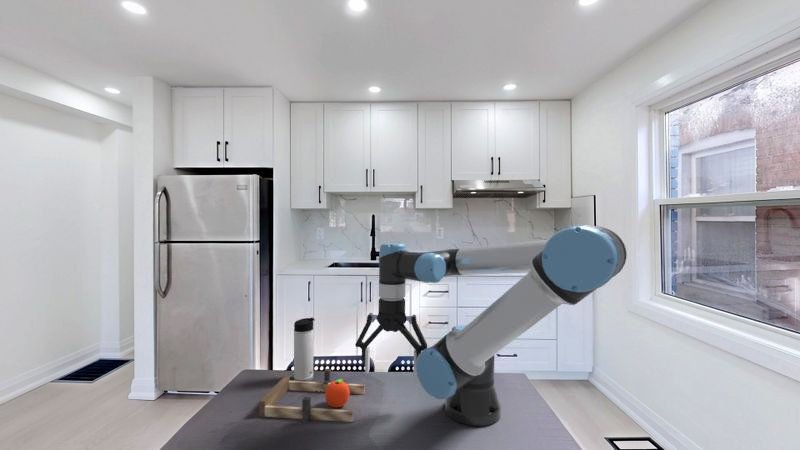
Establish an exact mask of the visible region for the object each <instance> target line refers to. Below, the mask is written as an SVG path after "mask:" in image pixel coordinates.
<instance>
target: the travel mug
mask: <svg viewBox="0 0 800 450" xmlns="http://www.w3.org/2000/svg"><path fill="white" fill-rule="evenodd" d="M314 321H315V318H314V317H307V318H300V319H297V320H295V321H294V323H293V324H294V325H293V326H294V328H293V331H294V332H293V381H307V382H312V380H313V379H314Z"/></svg>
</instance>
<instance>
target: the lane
mask: <svg viewBox="0 0 800 450" xmlns="http://www.w3.org/2000/svg"><path fill="white" fill-rule="evenodd" d="M323 375H324V378H323V379H324V381H323V382H322V381H309V382H307V381H294V380H291V378H290V377H291V376H290V375H284V376H283V377H282V378H281V379H280V380H279V381H278V382H277V383H276V384H275V385H274V386H273V387H272V388H271V389H270V390H269V391H268V392H267V393H266V394H265V395H264V396H263V397H262V398H261V399H260V400H259V410H258V411H259V415H258V416H259V417H268V418H269V417H270V418H285V419H286V418H287V419H296V420H297V419H300V420H301V421H302V424H309V422H310V421H311V420H315V421H316V420H317V421H331V422H345V423H346V422H347V423H353V421H354V410H353V409H352V410H351V409H339V408H338V409H336V408H335V409H334V408H321V407H319V408H318V407H312V405H311V396H304V397H303V399H302V401H301V402H302V403H301V405H302V407H301V406H287V405H286V406H285V405H277V403H278V402H279V401H280V400H281V399H282V398H283V397H284V395H286V393H287V392H288V391H298V392H300V391H301V392H315V391H318V392H319V393H325V392H326V389H327V387H328V386H329V384H330V383H332V369H331V368H325V370H324V374H323ZM346 384H347V385H348V388H349V391H350V394H352V393H355V394H356V395H365V391H366V390H365V389H366V385H365V384H364V383H359V384H358V383H346ZM320 391H321V392H320ZM355 394H354V395H355Z"/></svg>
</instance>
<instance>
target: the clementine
mask: <svg viewBox="0 0 800 450" xmlns="http://www.w3.org/2000/svg"><path fill="white" fill-rule="evenodd" d="M347 384H348V383H346V382H345V379H342V378H340V379H337V380H334V381H331V383H330V384H329V386H328V387H327V389H326V392H324V398H325V401H326V403H327V404H328V406H330V407H333V408H335V409H336V408H341V407H343V406H345V404H347V402H348V400H349V399H350V394H351V393H350V391H349V388H348V385H347Z"/></svg>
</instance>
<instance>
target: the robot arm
mask: <svg viewBox="0 0 800 450" xmlns="http://www.w3.org/2000/svg"><path fill="white" fill-rule="evenodd" d="M627 253H628V252H627V248H626V246H625V243H624V241H623V240H622V238H621V237H620V236H619V234H617V233H616V232H615V231H612V230H611V229H609V228H606V227H604V226H598V225H587V224H585V225H584V224H578V225H571V226H568V227H565V228H564V229H560V230H559V231H557V232H556V233H554V234H553V235H552V236H551V237H550V238H549V239H543V240H536V241H524V242H523V241H522V242H513V243H512V242H511V243H503V244H493V245H483V246H482V245H481V246H473V247H465V248H464V247H463V248H455V249H454V248H450V249H445V250H444V249H443V250H435V251H425V252H423V251H422V252H419V251H416V252H415V251H407V245H406V244H405V243H400V242H386V243H385V242H384V243H382V244H381V245H380V246H379V252H378V255H379V256H378V268H379V270H378V297H379V299H378V314H373V313H372V312H369V313H368V315H367V316H366V323H365V325H364V327H363V329H362V330H361V332H360V335H359V336H358V339H357V340H356V343H355V344H354V345H355V347H356V348H360V349H361V360H362V361H364V362H365V363H364V374H369V371H370V367H371V365H370V364H371V362H370V361H371V360H370V359H371V358H370V356H371V355H370V354H371V349H370V348H371V347H370V346H369V345H370V344H371V343H372V342H373V341H374V340H375V339H376V337H378V335H379V334H381V332H382V331H385V333H386V332H394V333H397V332H400V333H401V334H402V335H403V336H404V338H405V339H406V340H407V341H408V343H409V344H410V345H411V347H412V348H413V371H412V373H413V375H412V376H413V377H417V380H418V382H419V383H420V386H421V387H422V389H423V390H424V391H425V392H426V393H427V394H428V395H430V396H431V397H433V398H435V399H436V400H444V403H445V404H444V405H445V406H444V410H445V412H446V415H448V416H449V417H450V418H451V419H453V420H454V421H456V422H458V423H460V424H462V425H463V424H464V425H467V426H474V427H476V426H477V427H482V426H490V425H492V424H496V422H498V421H499V420H500V418H501V416H502V415H501V414H502V409H501V408H502V406H501V402H500V400H499V397H498V393H497V392H498V391H496V387H495V355H496V354H497V353H499V352H500V351H502V350H503V349H504V348H505V347H507V346H509V344H511V343H512V342H514V341H515V340H516V339H518V337H520V336H522V335H523V334H524V333H525V332H527V331H528V330H529V329H531V328H532V327H534V326H535V325H536V324H537V323H539V322H541V321H542V319H544V318H545V317H547V316H548V315H549V314H551V313H552V312H554V311H555V310H556V309H557V308H559V307H560V306H561V305H567V306H575V305H577V304H578V303H579V302H581V301H582V300H584V299H585V298H586V297H588V296H589V295H590V294H592V293H594V291H596V290H597V289H599V288H600V289H601V287H603V286H605V285H606V284H607V283H608V282H610V280H612V278H614V277H616V275H618V274H619V273H620V272H621V271H622V270H623V268H624V266H625V264H626V261H627V256H628V255H627ZM524 273H526V274H525V275H524V276H523V277H522V278H521V279H519V280H518V281H517V282H515V284H514V285H512V286H511V287H510V288H508V290H507V291H506V292H504V293H503V294H502V295H501V296H500V297H498V298H497V299H496V300H495V301H494V302H492V303H491V304H490V305H489V306H488V307H487V308H485V309H484V310H483V311H482V312H481V313H479V314H478V316H476V317H475V318H474V319H473V320H471V322H469V323H468V324H461V325H459V324H458V325H454V326H452V327H451V330H450V331H448V332H447V333H446V334H445V335H444V336H443V337H441V339H439V340H438V341H437V342H436V343H434V344H433V345H431V346H430V347H428V343H427V341H426V339H425V336H424V335H423V333H422V330H421V329H420V326H419V324H418V321H417V315H416V314H412V315H406V299H405V297H406V280H410V281H417V282H422V283H424V284H425V283H426V284H428V283H432V284H436V283H439V282H441V280H442V279H443V278H444V277H452V276H456V277H457V276H472V275H474V276H475V275H496V274H498V275H500V274H502V275H503V274H524ZM375 320H376V321H377V323H378V324H379V325H378V326H377V328H376V329H375V330H374V331H373V332H372V333H371V334H370V335H369V336H368V338H367V339H366V340H365V341H364V342H363V340H364V338H365V336H366V334H367V333H368V331H369V329H370V326H371V324H372V323H374V322H375ZM406 322H408V323H409V325H411V326H412V330H413V331H414V333H415V335H416V338H417V339H418V341H417V340H416V339H415V337H414V336H413V334H411V332H410V331H409V330H408V328H407V327H406V325H405V323H406Z"/></svg>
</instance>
